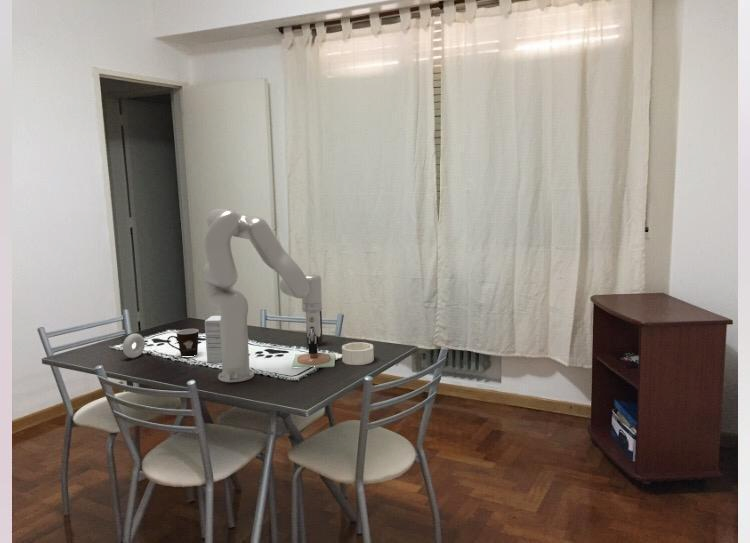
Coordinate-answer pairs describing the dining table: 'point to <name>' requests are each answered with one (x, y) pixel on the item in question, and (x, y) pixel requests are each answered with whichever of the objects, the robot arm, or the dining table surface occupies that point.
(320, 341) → the bottle
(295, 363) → the mat
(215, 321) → the supplement box
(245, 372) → the robot arm
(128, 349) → the donut
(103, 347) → the dining table surface
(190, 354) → the coffee mug
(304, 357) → the lid
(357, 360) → the bowl
